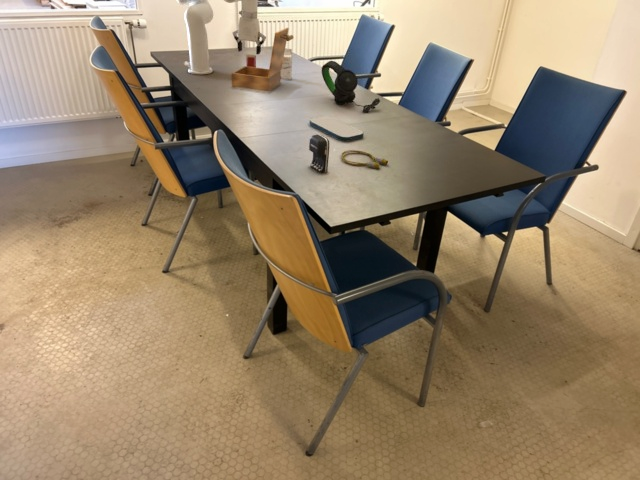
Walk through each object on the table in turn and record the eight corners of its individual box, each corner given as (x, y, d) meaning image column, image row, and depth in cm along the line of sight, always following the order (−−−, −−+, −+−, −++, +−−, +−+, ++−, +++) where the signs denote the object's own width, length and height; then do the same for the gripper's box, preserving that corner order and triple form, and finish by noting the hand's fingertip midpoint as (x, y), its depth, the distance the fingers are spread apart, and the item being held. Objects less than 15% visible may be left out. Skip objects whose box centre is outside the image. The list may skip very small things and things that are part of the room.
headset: (356, 129, 220) (316, 85, 227) (379, 112, 223) (339, 70, 230) (359, 106, 203) (316, 59, 210) (384, 88, 206) (341, 43, 213)
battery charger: (306, 167, 162) (308, 133, 155) (316, 165, 163) (318, 132, 157) (318, 175, 157) (320, 141, 151) (328, 173, 159) (330, 139, 152)
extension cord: (361, 173, 160) (361, 167, 159) (334, 156, 171) (334, 150, 170) (390, 166, 165) (391, 161, 164) (362, 150, 177) (363, 145, 175)
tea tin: (244, 78, 250) (244, 56, 244) (248, 76, 254) (248, 54, 248) (254, 79, 249) (253, 57, 243) (257, 77, 253) (257, 55, 247)
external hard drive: (306, 124, 197) (306, 119, 196) (328, 119, 203) (329, 115, 202) (343, 143, 181) (343, 138, 180) (366, 138, 187) (367, 133, 186)
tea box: (231, 88, 234) (231, 73, 231) (245, 80, 247) (244, 66, 244) (268, 93, 230) (268, 78, 227) (280, 85, 243) (280, 70, 240)
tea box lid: (275, 32, 216) (286, 36, 215) (287, 27, 228) (298, 30, 228) (267, 76, 227) (278, 80, 226) (279, 69, 240) (290, 72, 239)
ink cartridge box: (273, 79, 251) (273, 49, 243) (275, 77, 255) (275, 47, 248) (290, 80, 251) (290, 50, 243) (291, 78, 255) (292, 48, 247)
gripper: (229, 13, 234) (229, 51, 243) (263, 18, 231) (262, 56, 240) (236, 11, 240) (236, 48, 250) (269, 16, 237) (268, 53, 246)
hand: (249, 52), depth 245 cm, fingers open, 9 cm apart
